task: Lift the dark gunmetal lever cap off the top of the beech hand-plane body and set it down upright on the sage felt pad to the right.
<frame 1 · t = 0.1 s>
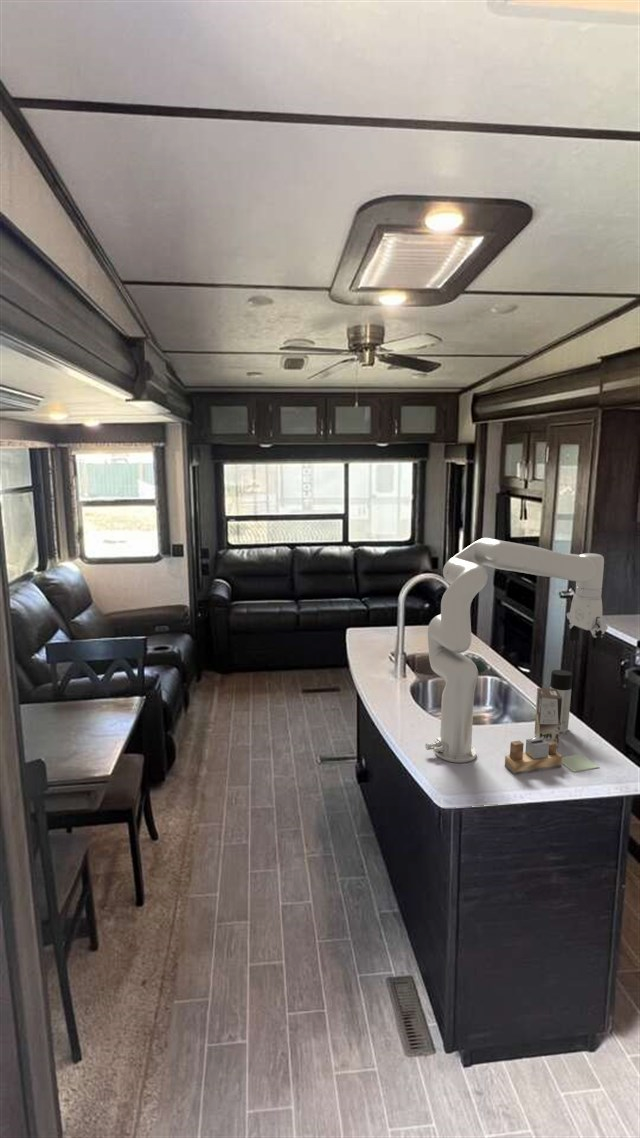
hand: (584, 644, 195), 31 cm above the counter, fingers open, 9 cm apart
lever cap: (536, 755, 179), point 3 cm above the counter, touching plane body
coffee box: (546, 740, 197), on the counter
plane body: (533, 766, 180), on the counter
spray can: (557, 729, 205), on the counter
felt pad: (577, 763, 182), on the counter
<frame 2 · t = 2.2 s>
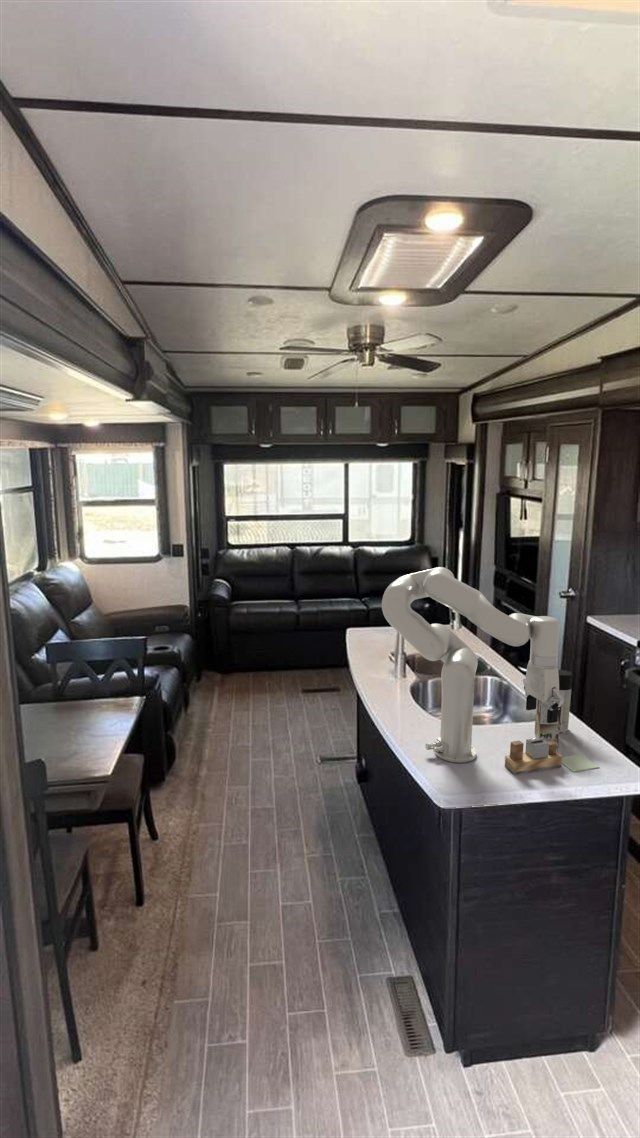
hand: (541, 715, 177), 16 cm above the counter, fingers open, 9 cm apart
nothing on the counter moved.
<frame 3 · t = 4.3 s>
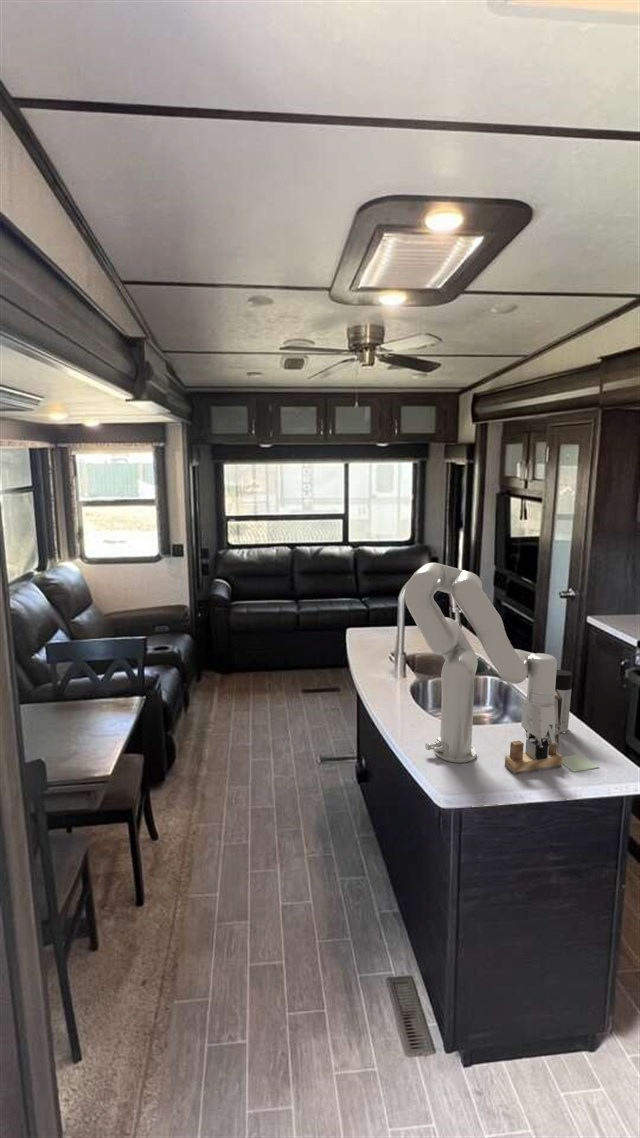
hand: (536, 754, 179), 4 cm above the counter, fingers closed on lever cap, 4 cm apart
lever cap: (536, 755, 179), point 4 cm above the counter, touching gripper, plane body
everything else where it was.
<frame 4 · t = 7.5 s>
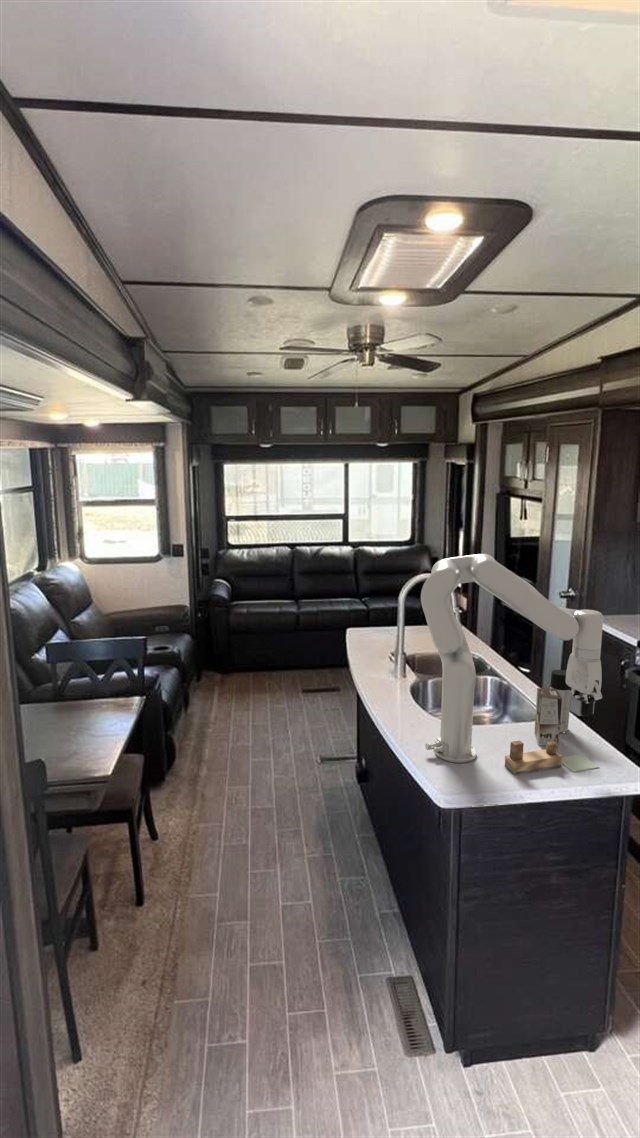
hand: (581, 711, 179), 17 cm above the counter, fingers closed on lever cap, 4 cm apart
lever cap: (581, 712, 179), point 16 cm above the counter, touching gripper
everything else where it was.
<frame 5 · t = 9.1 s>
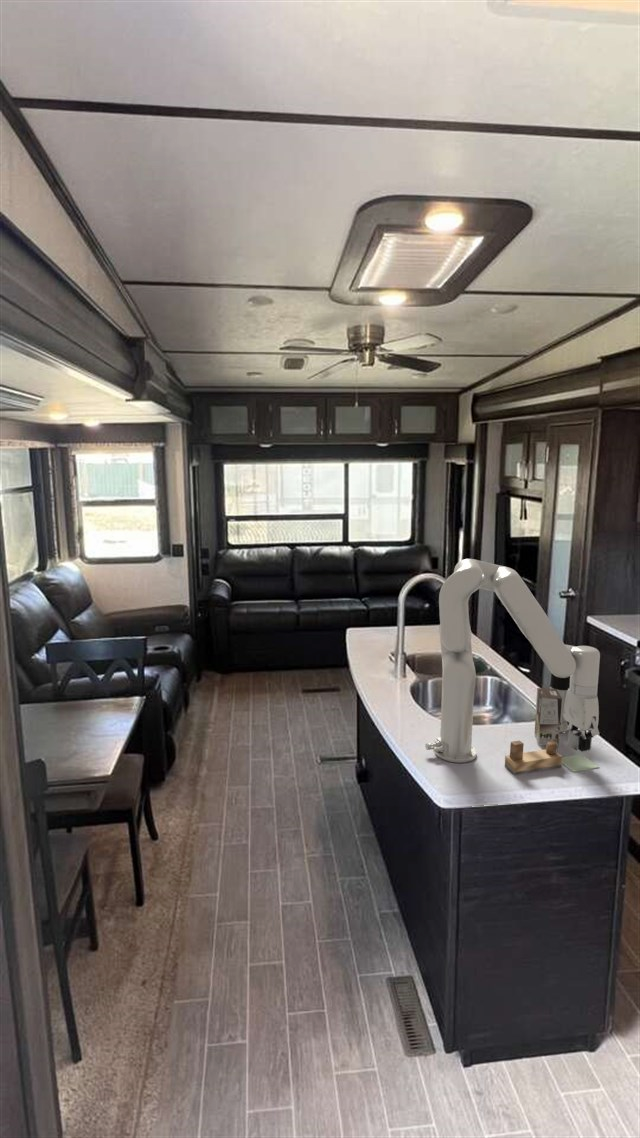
hand: (579, 746, 181), 6 cm above the counter, fingers closed on lever cap, 4 cm apart
lever cap: (579, 747, 181), point 5 cm above the counter, touching gripper
everything else where it was.
when the fingers open (2 cm above the counter, at t = 10.7 s): lever cap drops 1 cm, resting on felt pad.
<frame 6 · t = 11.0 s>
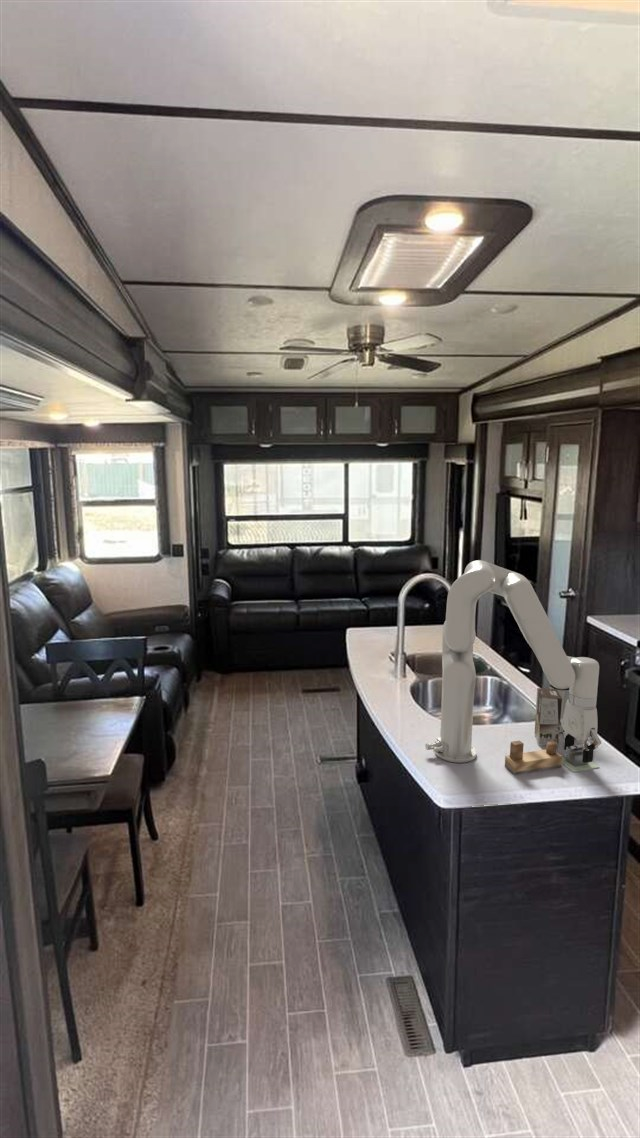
hand: (577, 755, 181), 3 cm above the counter, fingers open, 7 cm apart
lever cap: (576, 762, 182), resting on felt pad
everything else where it was.
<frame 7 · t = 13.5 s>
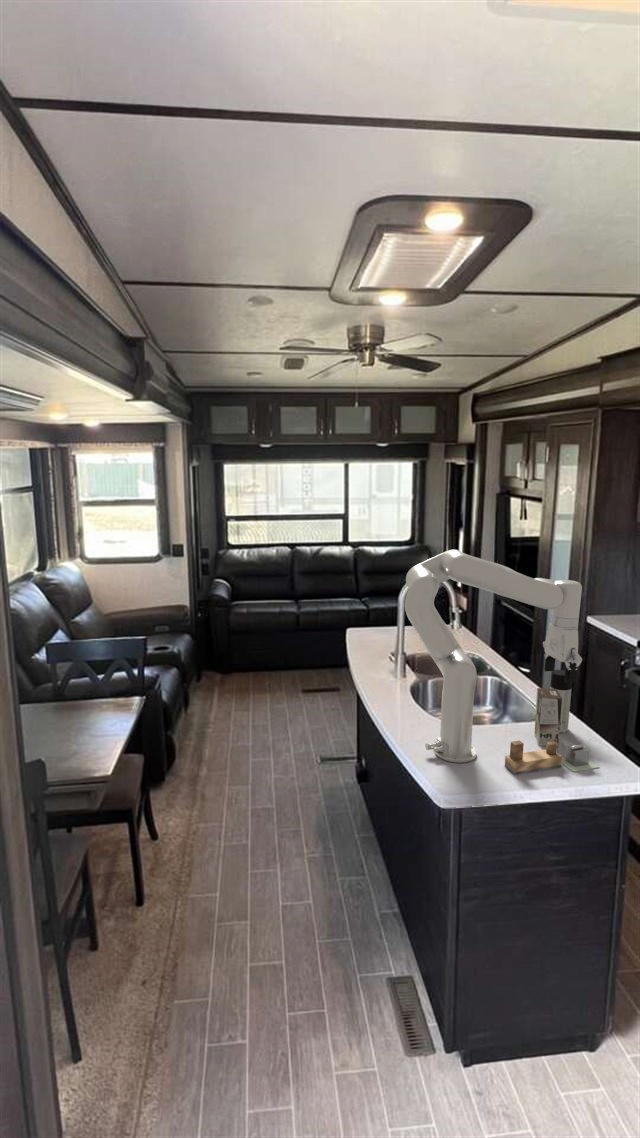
hand: (559, 676, 184), 25 cm above the counter, fingers open, 9 cm apart
nothing on the counter moved.
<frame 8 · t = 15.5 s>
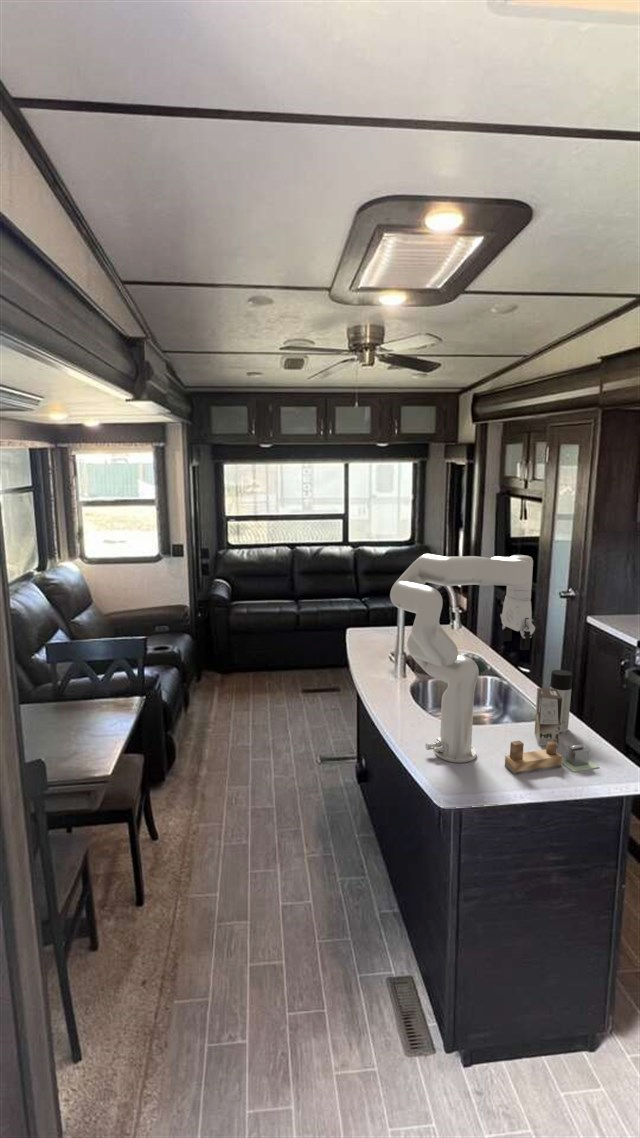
hand: (515, 645, 197), 30 cm above the counter, fingers open, 9 cm apart
nothing on the counter moved.
at the end: lever cap inside the target area on the felt pad (0.1 cm from its centre), point 0.3 cm above the felt pad's base; lever cap tilted 0°; lever cap touching felt pad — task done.
